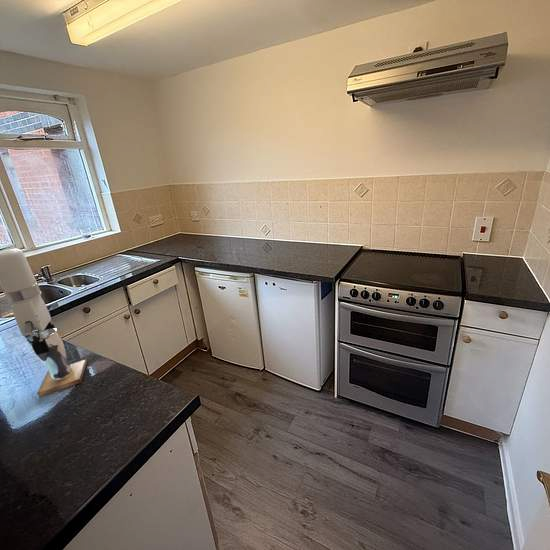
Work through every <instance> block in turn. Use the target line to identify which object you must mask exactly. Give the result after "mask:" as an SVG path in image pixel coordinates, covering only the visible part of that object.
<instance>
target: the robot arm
mask: <svg viewBox="0 0 550 550" xmlns="http://www.w3.org/2000/svg"><path fill="white" fill-rule="evenodd" d="M0 289H1V291H2V292H3V294H4V296H5V298H6V300H7V303H8V304H9V305H10V307H11V311H12V314H13V317H14V320H15V322H16V324H17V327H18V329H19V331H20V333H21V335H22V337H24V338H25V339H26V341H27V342H28V343H29V345H30V346H31V348H32V349H33V351H34V353H35V355H36V356H37V355H40V354H43V353H47V352H49V348H48V346H47V344H46V341H45V339H42V331H43V330H46V329H52V328H53V329H56V327H55V325H54V321H53V320H52V319H51V318H52V317H51V313H50V312H49V309H48V307H47V304H46V303H45V301H44V299H43V298H42V296H41V295H42V291H41V288H40V286H39V284H38V282H37V279H36V277H35V275H34V273H33V271H32V269H31V266H30V265H29V262H28V260H27V258H26V254H25V253H24V252H23V251H22V250H21V249H19V248H9V249H3V250H0ZM35 334H38V337H37V336H33V335H35Z"/></svg>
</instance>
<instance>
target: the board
mask: <svg viewBox="0 0 550 550" xmlns="http://www.w3.org/2000/svg"><path fill="white" fill-rule="evenodd" d="M69 364H70V365H71V367H72V368H73V369H74V371H73V373H72V374H71V375H70V376H69V377H67V378H65V379H63V380H61V381H56V382H54V381H52V380H51V377H50V373H49V371H48V370H47V372H46V373H45V376H44V378H43V380H42V382H41V384H40V386H39V388H38V390H37V393H36V394H37V395H38V397H42V396H45V395H48V394H52V393H55V392H57V391H60V390H64V389H66V388H69V387H73V386H76V385H79V384H81V383H82V381H83V378H84V374H85V371H86V367H87V360H86V359H83V360H79V361H76V362H73V363H69Z"/></svg>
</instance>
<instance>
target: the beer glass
mask: <svg viewBox="0 0 550 550" xmlns="http://www.w3.org/2000/svg"><path fill="white" fill-rule="evenodd" d="M33 336H37V337H38V334H35V335H33ZM42 339H45V341H46V344H47V346H48V348H49V352H47V353H43V354H40V355H36V356H37V358H38V359H39V360H40V362H41V363H42V364H43V365H44V366H45V368H46V369H47V371H49V373H50V377H51V380H52V381H54V382H56V381H61V380H63V379H65V378H67V377H69V376H70V375H71V374H72V373H73V371H74V369H73V368H72V367H71V365H70V364H71V363H69V361H68V358H67V357H68V356H67V352H66V348H65V344H64V341H63V339H62V337H61V336H60V334H59V332H58V330H57V328H55V329H53V328H52V329H46V330H43V331H42Z"/></svg>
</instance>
